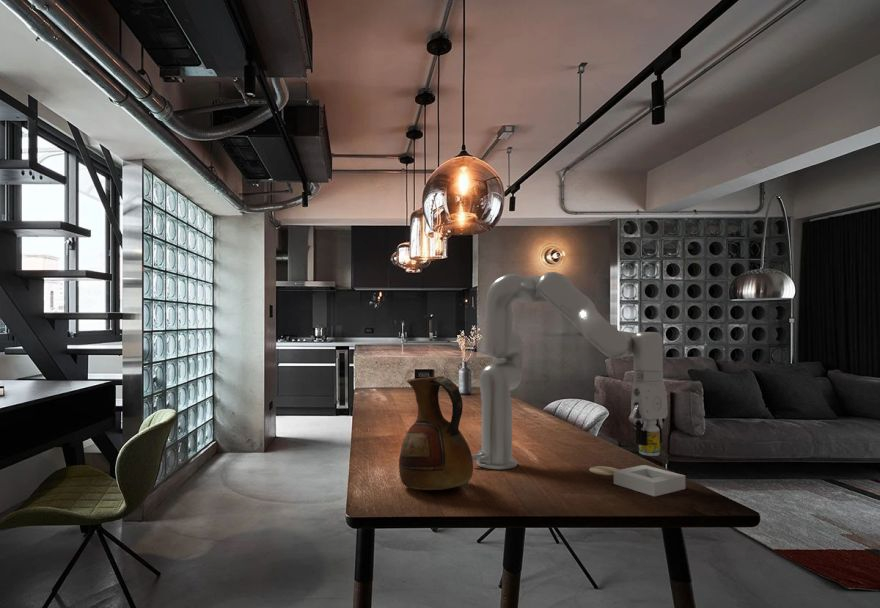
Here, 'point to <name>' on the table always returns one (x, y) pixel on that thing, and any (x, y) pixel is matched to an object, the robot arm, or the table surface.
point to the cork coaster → (603, 470)
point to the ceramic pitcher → (435, 441)
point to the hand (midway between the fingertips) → (649, 442)
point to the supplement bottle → (651, 439)
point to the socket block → (649, 480)
